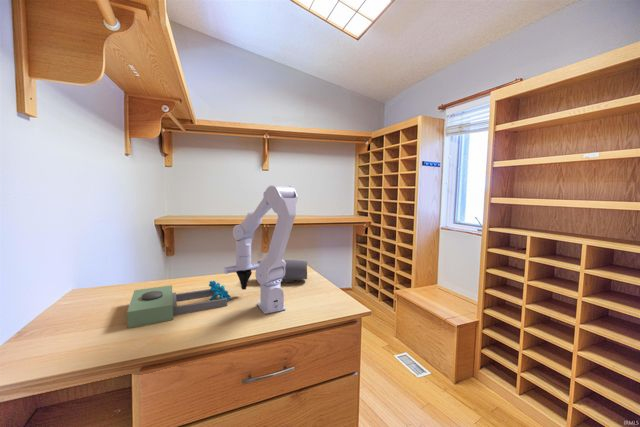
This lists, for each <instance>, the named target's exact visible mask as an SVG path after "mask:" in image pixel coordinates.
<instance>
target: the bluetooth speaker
mask: <svg viewBox="0 0 640 427" xmlns="http://www.w3.org/2000/svg"><path fill="white" fill-rule="evenodd" d="M283 260H284V261H285V262H286V266H285V276H284V277H283V278H282V281H281V283H294V281H299V280H300V281H301V280H308V261H307V260H297V259H294V260H293V259H283ZM261 261H262V260H258V261H257V262H256V264H260V262H261Z"/></svg>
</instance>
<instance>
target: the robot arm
mask: <svg viewBox="0 0 640 427" xmlns="http://www.w3.org/2000/svg"><path fill="white" fill-rule="evenodd" d="M298 198H299V195H298V193H297V191H296V189H295V188H294V187H293V186H291V185H288V186H287V185H286V186H281V185H279V186H277V185H269V186H267V187H266V189H265V190H264V192H263V198H262V199H261V200H260V202H259V204H258V205H257V207H256V208H255V210H254V211H251V212H248V213H247V214H246V217H244V219H243V220H242V221H241V223H240V224H236V225H234V227H233V229H232V236H233V238H234V240H235V265H232V266H226V267H224V268H223V272H224V274H226V275H227V274H229V273H231V274H232V273H236V275H237V277H238V279H239V282H240V288H241V290H247V286H248V282H249V280H250V279H251V278H250V277H251V276H252V271H255V279H256V281H257V282H258V284H259V285H260V287H259V288H260V294H259V295H260V301H258V302H256V305H257V306H258V307H259V309H260V310H261V311H262V312H263V314H264V315H266V314H270V313H276V312H280V311H285V310H287V307H286V306H285V305H284V302H285V300H284V299H285V298H284V296H285V294H284V291H283V289H282V285H281V283H282V282H281V281H282V278H283V277H284V276H285V266H286V262H285V261H284V260H285V259H284V256H285V255H284V254H285V252H286V249H287V248H286V247H287V246H288V242H289V238H290V236H291V232H292V228H293V226H294V222H295V220H296V214H297V213H296V204H297V202H298ZM271 209H272V210H273V212H274V213H276V215H277V220H276V223H275V225H274V229H273V232H272V238H271V240H270V244H269V248H268V251H267V255H266V256H265V257H264V258H263V259H262V260H260V261H261V262H260V264H257V263H252V243H253V239H254V236H255V231H256V230H257V229H258V228H259V226H260V225H261V224H262V222H263V217H264V216H265V215H266V214H267V213H268V212H269V211H270V210H271Z"/></svg>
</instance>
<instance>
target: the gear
mask: <svg viewBox="0 0 640 427" xmlns="http://www.w3.org/2000/svg"><path fill="white" fill-rule="evenodd" d="M208 287H210V288H209V289H211V291H214V292H215V293H214V295H213V296H210V298H208V301H211V300H215V298H216V297H218V299H223V298H226V299H227V302H229V300H231V299H230V298H231V295H230V294H229V291H228V290H226V287H225V285H224V284H221V283H220V282H217V281H216V280H210V281H209V284H208Z"/></svg>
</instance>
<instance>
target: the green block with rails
mask: <svg viewBox="0 0 640 427" xmlns="http://www.w3.org/2000/svg"><path fill="white" fill-rule="evenodd" d="M214 293H215V292H214V291H211V289H210V288H207V289H200V290H193V291H188V292H187V291H186V292H180V293H176V292H173V284H170V285H163V286H156V287H149V288H147V287H146V288H142V289H134V291H133V294H132V296H131V299H130V302H129V305H128V308H127V311H126V320H127V329H131V328H136V327H143V326H146V325H153V324H157V323H158V324H159V323H164V322H169V321H173V320H174V316H178V315H184V314H189V313H195V312H200V311H205V310H210V309H212V310H213V309H217V308H222V307H227V306H228V301H227V299H226V298H223V299H220V298H218V299H213V300H211V301H210V300H206V301H200V302H196V303H195V302H193V303H189V304H188V303H187V304H182V305H177V304H178V302H181V301H188V300H196V299H200V298H206V297H212V296H213V295H214Z"/></svg>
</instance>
